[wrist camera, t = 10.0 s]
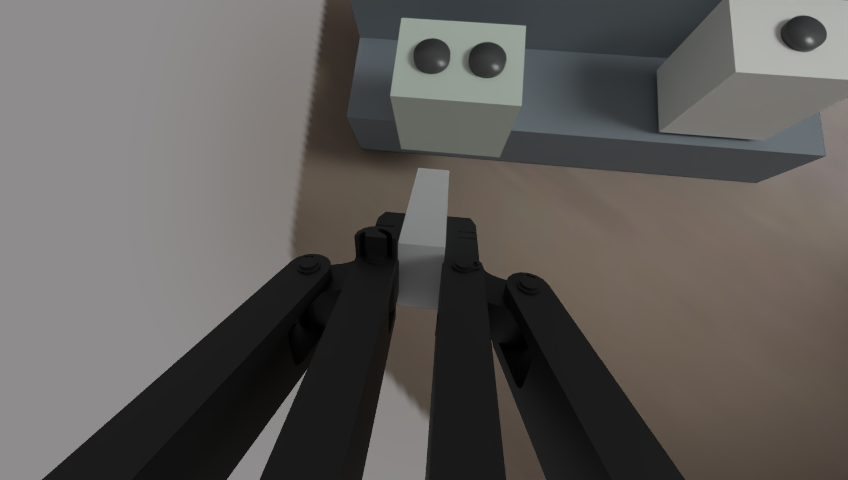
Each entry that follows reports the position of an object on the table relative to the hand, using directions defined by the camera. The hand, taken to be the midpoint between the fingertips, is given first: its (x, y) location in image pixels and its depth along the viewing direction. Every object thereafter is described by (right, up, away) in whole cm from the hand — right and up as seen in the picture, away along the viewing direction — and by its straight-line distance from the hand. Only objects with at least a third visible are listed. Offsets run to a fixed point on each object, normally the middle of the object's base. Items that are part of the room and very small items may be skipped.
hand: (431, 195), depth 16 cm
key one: (+20, +7, +7) cm, 22 cm away
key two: (+2, +6, +7) cm, 10 cm away
